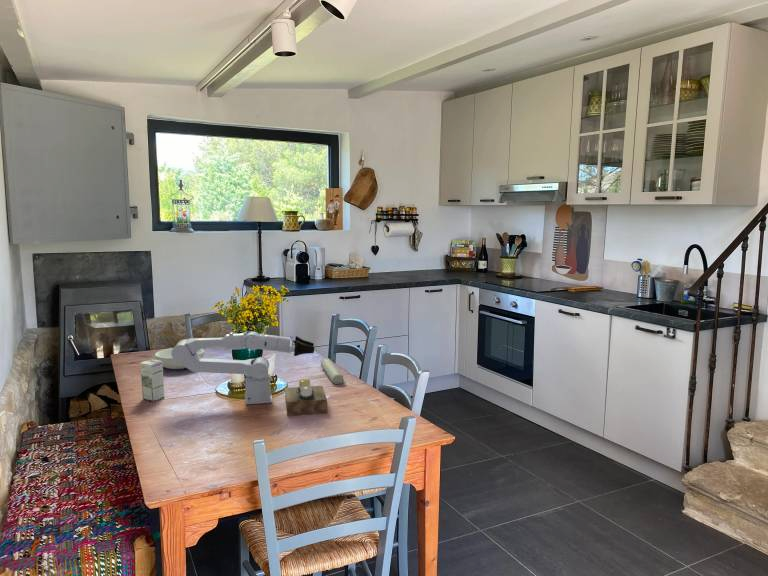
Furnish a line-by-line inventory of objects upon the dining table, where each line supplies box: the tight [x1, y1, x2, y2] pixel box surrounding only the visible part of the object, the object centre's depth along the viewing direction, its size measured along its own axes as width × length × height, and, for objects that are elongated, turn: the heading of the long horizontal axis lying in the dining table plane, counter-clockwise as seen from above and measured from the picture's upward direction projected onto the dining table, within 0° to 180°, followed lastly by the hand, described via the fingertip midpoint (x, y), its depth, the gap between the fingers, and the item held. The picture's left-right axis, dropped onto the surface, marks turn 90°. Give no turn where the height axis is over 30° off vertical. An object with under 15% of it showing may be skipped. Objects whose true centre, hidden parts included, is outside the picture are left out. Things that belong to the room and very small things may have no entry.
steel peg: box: [300, 385, 312, 399], centre depth 207 cm, size 4×4×5 cm
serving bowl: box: [154, 347, 205, 370], centre depth 262 cm, size 21×21×7 cm
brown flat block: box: [284, 385, 328, 417], centre depth 211 cm, size 14×16×5 cm
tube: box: [320, 357, 344, 385], centre depth 248 cm, size 5×5×25 cm
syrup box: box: [139, 358, 165, 402], centre depth 219 cm, size 6×6×14 cm
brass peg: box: [298, 378, 311, 392], centre depth 215 cm, size 4×4×5 cm
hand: (313, 348), depth 218 cm, fingers open, 7 cm apart
